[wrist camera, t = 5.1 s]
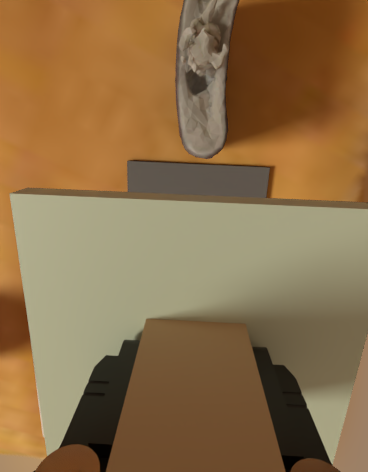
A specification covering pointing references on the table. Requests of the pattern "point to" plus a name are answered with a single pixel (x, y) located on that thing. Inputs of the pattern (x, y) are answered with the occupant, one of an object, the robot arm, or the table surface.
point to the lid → (193, 316)
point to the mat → (197, 179)
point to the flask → (203, 74)
